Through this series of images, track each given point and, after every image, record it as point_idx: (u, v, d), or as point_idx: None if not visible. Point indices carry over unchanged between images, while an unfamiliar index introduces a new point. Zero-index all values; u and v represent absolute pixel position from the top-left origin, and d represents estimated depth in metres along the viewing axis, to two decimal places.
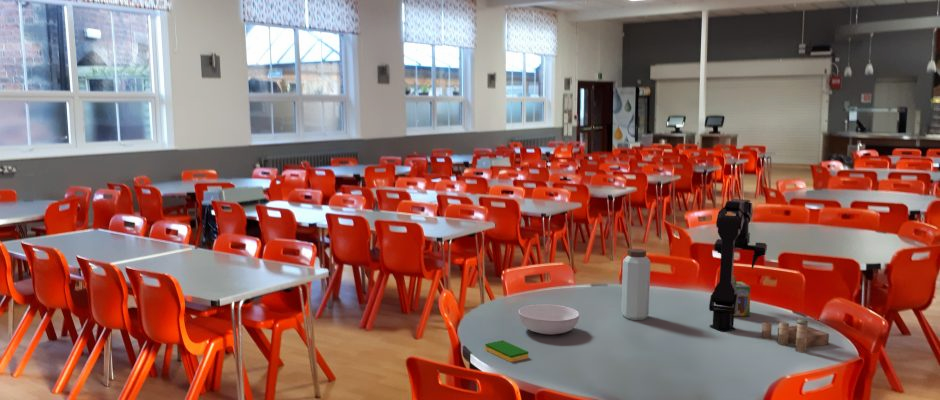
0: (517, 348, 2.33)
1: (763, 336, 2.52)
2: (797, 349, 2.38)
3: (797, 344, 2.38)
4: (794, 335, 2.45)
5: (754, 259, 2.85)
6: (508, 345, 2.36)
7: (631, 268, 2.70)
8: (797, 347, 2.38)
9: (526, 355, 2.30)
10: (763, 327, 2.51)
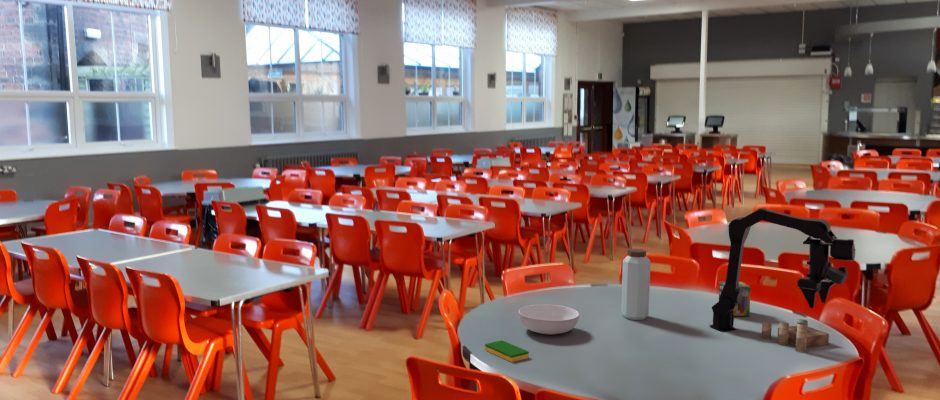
0: (517, 348, 2.33)
1: (763, 336, 2.52)
2: (797, 349, 2.38)
3: (797, 344, 2.38)
4: (794, 335, 2.45)
5: None
6: (508, 345, 2.36)
7: (631, 268, 2.70)
8: (797, 347, 2.38)
9: (526, 355, 2.30)
10: (763, 327, 2.51)
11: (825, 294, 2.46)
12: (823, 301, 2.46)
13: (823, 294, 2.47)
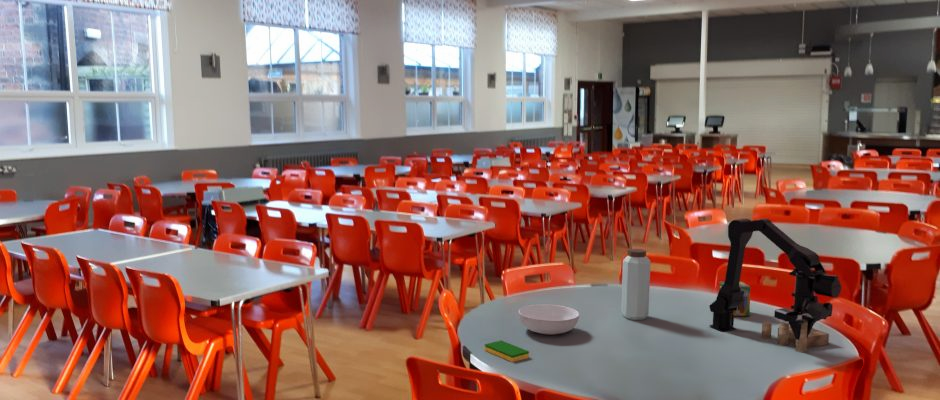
0: (517, 348, 2.33)
1: (763, 336, 2.52)
2: (797, 349, 2.38)
3: (797, 344, 2.38)
4: None
5: None
6: (508, 345, 2.36)
7: (631, 268, 2.70)
8: (797, 347, 2.38)
9: (527, 355, 2.30)
10: (763, 327, 2.51)
11: (807, 329, 2.38)
12: None
13: None
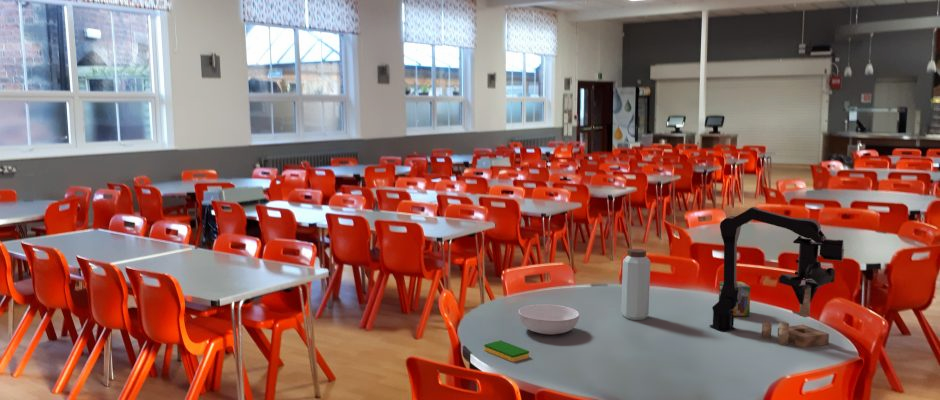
0: (517, 348, 2.33)
1: (763, 336, 2.52)
2: (801, 314, 2.47)
3: (801, 309, 2.47)
4: (794, 335, 2.45)
5: None
6: (507, 345, 2.36)
7: (631, 268, 2.70)
8: (801, 312, 2.47)
9: (527, 354, 2.30)
10: (763, 327, 2.51)
11: (811, 294, 2.47)
12: None
13: None
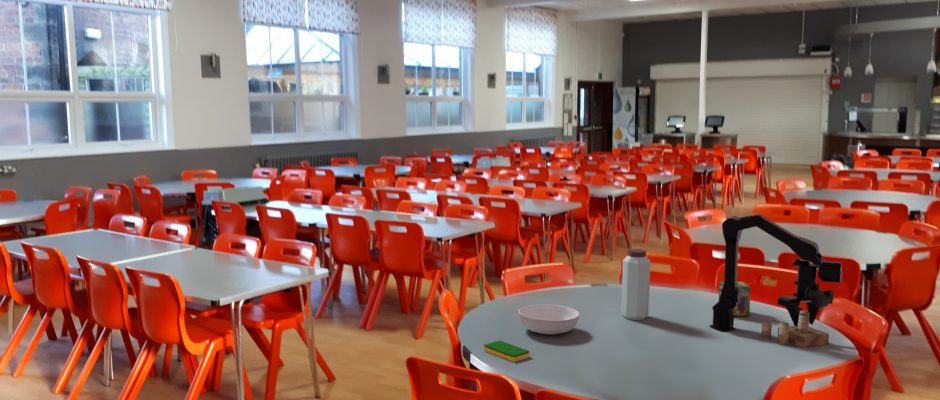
0: (517, 348, 2.34)
1: (763, 336, 2.52)
2: None
3: None
4: (794, 335, 2.45)
5: None
6: (507, 345, 2.37)
7: (631, 268, 2.70)
8: None
9: (527, 354, 2.31)
10: (763, 327, 2.51)
11: (813, 315, 2.48)
12: (810, 322, 2.49)
13: (811, 316, 2.49)
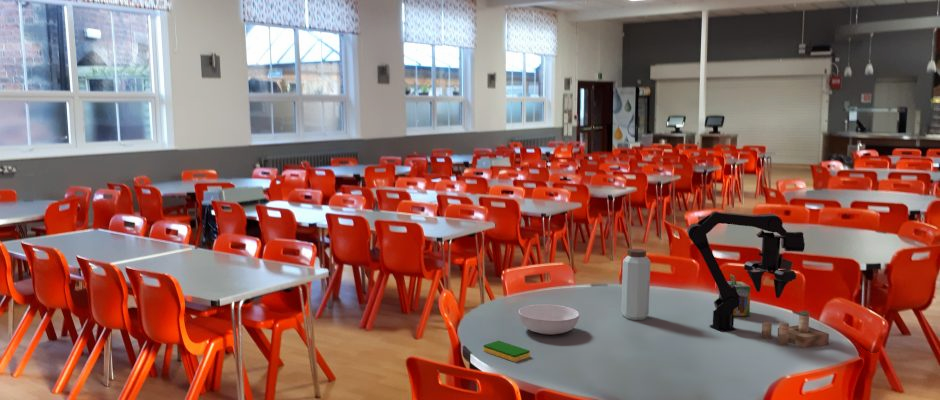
0: (517, 347, 2.34)
1: (763, 336, 2.52)
2: None
3: None
4: (794, 335, 2.45)
5: (775, 285, 2.51)
6: (507, 345, 2.37)
7: (631, 268, 2.70)
8: None
9: (528, 354, 2.31)
10: (763, 327, 2.52)
11: (760, 283, 2.62)
12: (759, 290, 2.62)
13: (758, 284, 2.62)
